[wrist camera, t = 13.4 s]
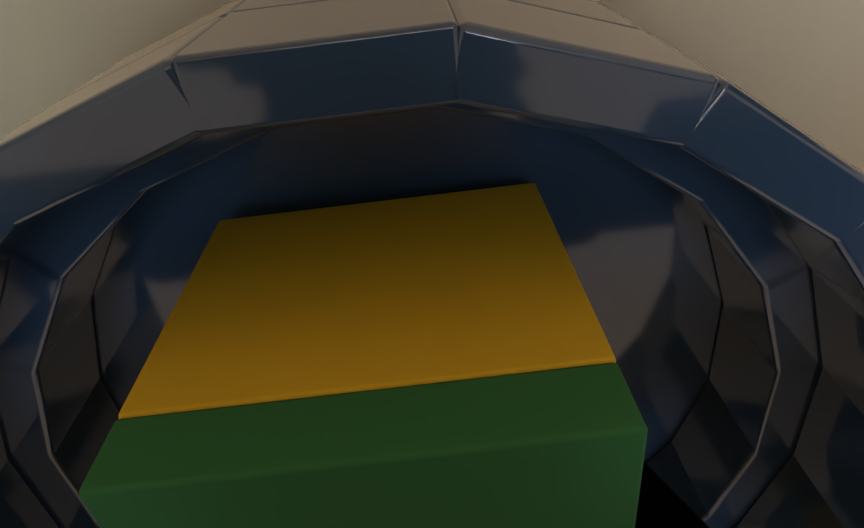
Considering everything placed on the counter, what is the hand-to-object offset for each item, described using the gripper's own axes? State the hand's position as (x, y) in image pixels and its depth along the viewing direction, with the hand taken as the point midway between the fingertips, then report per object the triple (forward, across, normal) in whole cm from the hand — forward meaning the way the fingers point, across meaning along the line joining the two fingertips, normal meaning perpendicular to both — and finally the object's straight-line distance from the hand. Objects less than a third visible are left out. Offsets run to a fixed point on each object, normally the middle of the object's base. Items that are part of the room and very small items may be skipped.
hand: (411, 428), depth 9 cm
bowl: (+2, 0, 0) cm, 2 cm away
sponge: (+1, 0, 0) cm, 1 cm away
